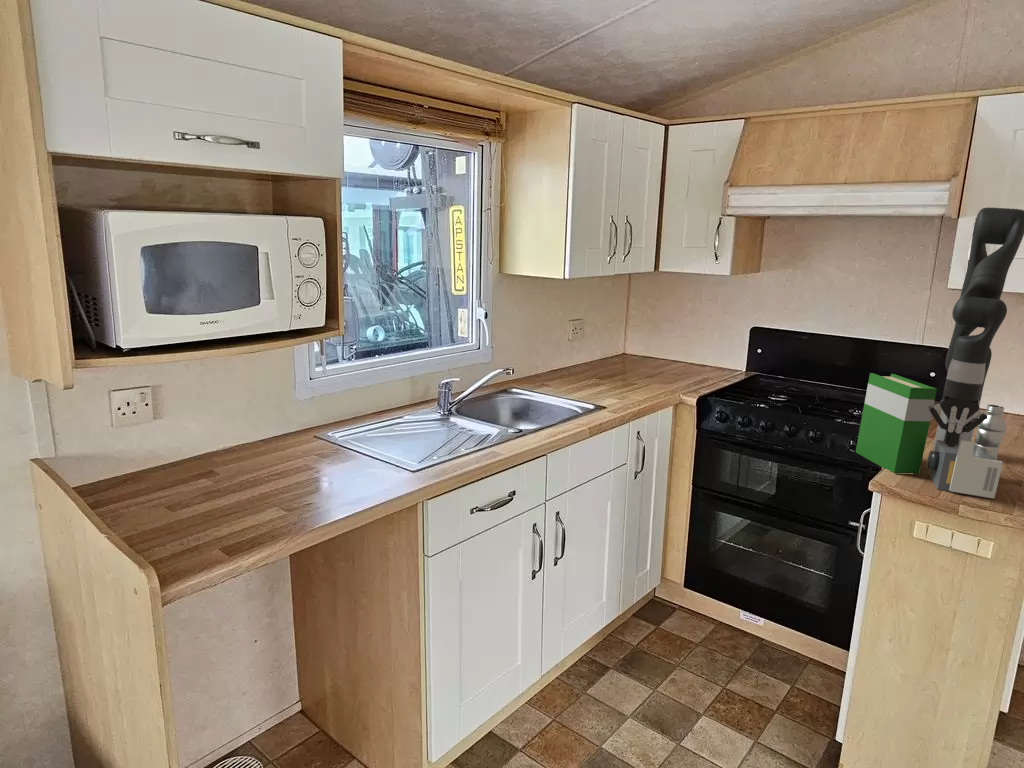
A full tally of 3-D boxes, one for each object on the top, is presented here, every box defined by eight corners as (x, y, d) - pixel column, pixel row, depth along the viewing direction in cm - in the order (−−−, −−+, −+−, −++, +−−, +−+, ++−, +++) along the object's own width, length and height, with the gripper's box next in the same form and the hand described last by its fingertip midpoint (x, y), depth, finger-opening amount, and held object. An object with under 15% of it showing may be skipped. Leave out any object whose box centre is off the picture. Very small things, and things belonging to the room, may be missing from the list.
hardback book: (855, 452, 203) (869, 373, 197) (878, 452, 203) (893, 374, 198) (893, 473, 186) (910, 387, 180) (919, 474, 186) (936, 388, 181)
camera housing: (922, 473, 187) (930, 435, 185) (971, 481, 183) (980, 443, 180) (930, 488, 176) (939, 448, 174) (983, 497, 172) (992, 456, 170)
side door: (948, 489, 174) (960, 439, 171) (993, 497, 171) (1005, 445, 168) (949, 491, 173) (961, 440, 170) (994, 498, 170) (1006, 447, 167)
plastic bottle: (966, 470, 192) (982, 401, 187) (995, 477, 188) (1012, 406, 183) (963, 476, 187) (979, 405, 182) (993, 483, 183) (1010, 411, 178)
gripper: (992, 380, 169) (977, 446, 173) (931, 372, 174) (917, 437, 178) (1000, 385, 162) (984, 455, 166) (936, 378, 167) (922, 445, 171)
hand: (950, 446), depth 172 cm, fingers closed
